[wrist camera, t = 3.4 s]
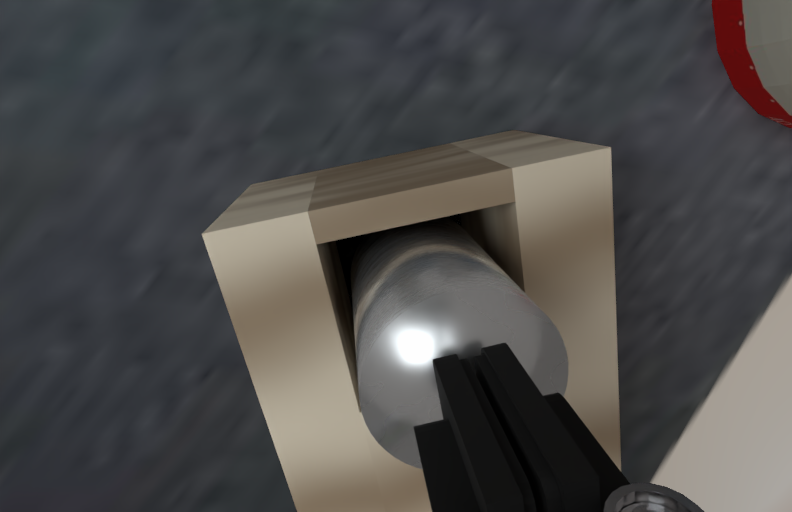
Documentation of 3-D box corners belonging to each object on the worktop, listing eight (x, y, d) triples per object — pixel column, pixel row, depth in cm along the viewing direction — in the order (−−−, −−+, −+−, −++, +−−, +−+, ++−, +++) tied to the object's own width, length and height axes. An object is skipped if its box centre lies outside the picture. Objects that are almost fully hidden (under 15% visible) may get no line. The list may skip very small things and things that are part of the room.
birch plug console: (251, 184, 21) (201, 233, 13) (513, 129, 21) (610, 147, 14) (353, 531, 28) (360, 693, 20) (549, 482, 28) (626, 623, 21)
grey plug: (336, 226, 17) (336, 316, 10) (469, 197, 17) (561, 266, 10) (365, 344, 19) (382, 493, 12) (486, 316, 19) (574, 446, 12)
